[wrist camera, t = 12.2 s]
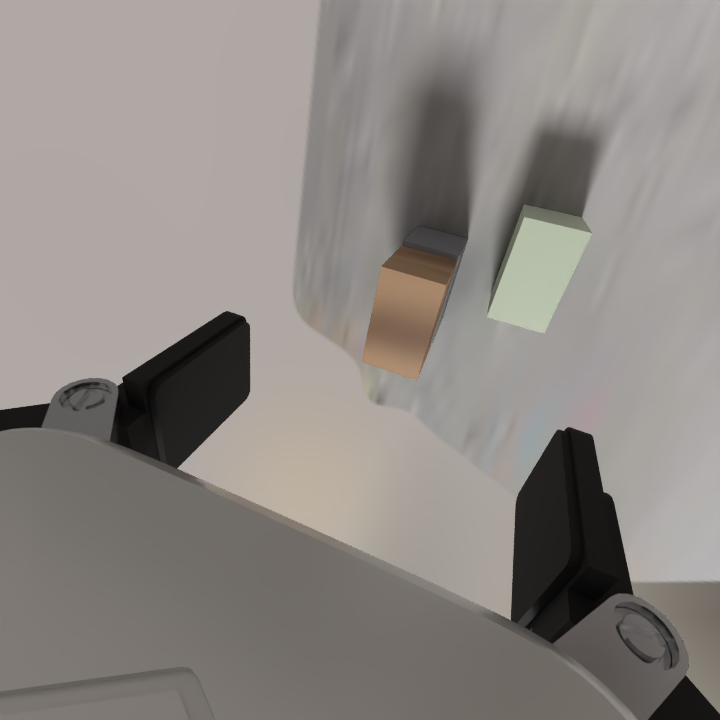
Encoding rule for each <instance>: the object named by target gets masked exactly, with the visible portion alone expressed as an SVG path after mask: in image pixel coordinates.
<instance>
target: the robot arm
mask: <svg viewBox="0 0 720 720" xmlns="http://www.w3.org/2000/svg"><path fill="white" fill-rule="evenodd" d="M122 379H123V383H121V384H120V385H118V386H116V384H115V383H113V382H111V381H109V380H106V379H101V378H89V379H83V380H79V381H76V382H72V383H70V384H68V385H66V386H64V387H62V388H61V389H60V390H58V391H57V392H56V393H55V395H54V397H53V398H52V400H51V403H48V404H41V405H33V406H26V407H19V408H12V409H5V410H0V720H720V714H719V713H718V712H717V711H716V709H715V708H714V707H713V706H712V705H711V704H710V703H709V701H708V700H707V699H706V698H705V697H704V696H703V695H702V693H701V692H700V691H699V690H698V689H697V688H696V687H695V685H694V684H693V683H692V682H691V681H690V680H689V679H688V677H687V676H686V672H687V670H688V668H689V659H688V653H687V650H686V647H685V644H684V641H683V640H682V638H681V637H680V635H679V633H678V631H677V630H676V628H675V627H674V626H673V625H672V623H671V622H670V621H669V620H668V619H667V618H666V616H665V615H664V614H662V613H661V612H660V611H659V610H658V609H656V608H655V607H654V606H653V605H651V604H650V603H648V602H646V601H645V600H643V599H641V598H639V597H636V596H634V595H633V591H632V586H631V581H630V577H629V572H628V567H627V562H626V558H625V553H624V548H623V543H622V539H621V534H620V529H619V524H618V520H617V515H616V510H615V505H614V502H613V499H612V497H611V496H610V495H609V494H607V493H604V492H603V487H602V482H601V477H600V471H599V466H598V461H597V456H596V450H595V445H594V440H593V436H592V435H591V434H588V433H585V432H582V431H579V430H576V429H573V428H570V427H568V428H566V429H565V431H562V430H557V431H556V433H555V434H554V436H553V437H552V439H551V441H550V442H549V444H548V446H547V447H546V449H545V451H544V452H543V454H542V456H541V457H540V459H539V461H538V462H537V464H536V465H535V467H534V469H533V470H532V472H531V474H530V475H529V477H528V479H527V480H526V482H525V484H524V485H523V487H522V489H521V490H520V492H519V494H518V497H517V500H516V510H515V535H514V558H513V583H512V606H511V607H512V608H511V620H509V619H507V618H505V617H503V616H501V615H499V614H497V613H495V612H493V611H491V610H489V609H487V608H485V607H482V606H480V605H478V604H476V603H474V602H472V601H470V600H468V599H466V598H463V597H461V596H459V595H457V594H455V593H453V592H451V591H448V590H446V589H444V588H442V587H440V586H438V585H436V584H434V583H431V582H429V581H427V580H425V579H422V578H420V577H418V576H416V575H414V574H411V573H409V572H407V571H405V570H403V569H401V568H398V567H396V566H394V565H392V564H390V563H387V562H385V561H383V560H381V559H378V558H376V557H374V556H372V555H370V554H367V553H365V552H363V551H361V550H359V549H356V548H354V547H352V546H350V545H348V544H345V543H343V542H341V541H339V540H336V539H334V538H332V537H330V536H327V535H325V534H323V533H321V532H318V531H316V530H314V529H312V528H310V527H307V526H305V525H303V524H301V523H298V522H296V521H294V520H292V519H289V518H287V517H285V516H283V515H281V514H278V513H276V512H274V511H272V510H269V509H267V508H265V507H262V506H260V505H258V504H256V503H253V502H251V501H249V500H246V499H245V498H242V497H240V496H238V495H235V494H233V493H231V492H229V491H226V490H224V489H222V488H220V487H217V486H215V485H213V484H210V483H208V482H206V481H204V480H201V479H199V478H197V477H195V476H192V475H190V474H188V473H185V472H183V471H181V470H179V469H177V468H178V467H179V466H180V465H181V464H182V463H183V462H184V461H185V460H186V459H187V458H188V457H189V456H190V455H191V454H192V453H193V452H194V451H195V450H196V449H197V448H198V447H199V446H200V445H201V444H202V443H203V442H204V441H205V440H206V439H207V438H208V437H209V436H210V435H211V434H212V433H213V432H214V431H215V430H216V429H217V428H218V427H219V426H220V425H221V424H222V423H223V422H224V421H225V420H226V419H227V418H228V417H229V416H230V415H231V414H232V413H233V412H234V411H235V410H236V409H237V408H238V407H239V406H240V405H241V404H242V403H243V402H244V401H245V400H246V399H247V397H248V395H249V392H250V325H249V324H248V323H247V322H246V319H245V317H243V316H240V315H237V314H235V313H231V312H228V311H226V312H223V313H222V314H220V315H219V316H217V317H216V318H214V319H213V320H211V321H209V322H208V323H206V324H205V325H203V326H202V327H200V328H198V329H197V330H195V331H194V332H192V333H191V334H189V335H188V336H186V337H184V338H183V339H181V340H180V341H178V342H177V343H175V344H174V345H172V346H171V347H169V348H167V349H166V350H164V351H163V352H161V353H160V354H158V355H157V356H155V357H153V358H152V359H150V360H149V361H147V362H146V363H144V364H143V365H141V366H139V367H138V368H136V369H135V370H133V371H132V372H130V373H128V374H127V375H125V376H124V377H123V378H122Z"/></svg>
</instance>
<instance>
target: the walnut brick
mask: <svg viewBox="0 0 720 720" xmlns="http://www.w3.org/2000/svg"><path fill="white" fill-rule="evenodd" d="M456 264H457V261H456V260H453V259H449V258H445V257H442V256H438V255H435V254H431V253H427V252H424V251H420V250H416V249H413V248H409V247H406V246H401V247H400V248H399V249H398V250H397V251H396V252H395V253H394V254H393V255H392V256H391V257H390V258H389V259H388V260H387V261H386V262H385V263H384V264H383V265H382V266H381V271H380V276H379V281H378V285H377V290H376V295H375V300H374V305H373V310H372V314H371V319H370V324H369V329H368V334H367V339H366V343H365V348H364V353H363V358H362V362H364V363H366V364H369V365H372V366H375V367H378V368H381V369H384V370H387V371H390V372H393V373H396V374H399V375H402V376H405V377H408V378H411V379H413V380H416V381H417V379H418V376H419V374H420V371H421V369H422V367H423V364H424V362H425V359H426V357H427V354H428V352H429V349H430V347H431V343H432V340H433V337H434V334H435V331H436V328H437V324H438V321H439V318H440V315H441V312H442V309H443V305H444V302H445V299H446V296H447V293H448V290H449V286H450V283H451V280H452V277H453V274H454V271H455V267H456Z"/></svg>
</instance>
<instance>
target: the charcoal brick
mask: <svg viewBox="0 0 720 720" xmlns="http://www.w3.org/2000/svg"><path fill="white" fill-rule="evenodd" d="M467 240H468V238H464V237H460V236H456V235H453V234H449V233H445V232H441V231H437V230H434V229H430V228H426V227H422V226H418V227H417V228H416V229H415V230H414V231H413V232H412V233H411V234H410V235H409V236H408V237H407V238H406V239H405V240H404V242H403V246H406V247H409V248H413V249H416V250H420V251H424V252H427V253H431V254H435V255H438V256H442V257H445V258H449V259H453V260H456V261H457V264H456V267H455V271H454V274H453V277H452V280H451V283H450V286H449V290H448V293H447V296H446V299H445V302H444V305H443V309H442V312H441V315H440V318H439V321H438V324H437V328H436V331H435V334H434V337H433V340H432V343H433V341H434V338H435V336H436V333H437V331H438V328H439V326H440V323H441V321H442V318H443V315H444V312H445V309H446V306H447V303H448V300H449V297H450V294H451V290H452V287H453V284H454V281H455V278H456V275H457V272H458V269H459V265H460V262H461V259H462V256H463V253H464V250H465V247H466V244H467Z"/></svg>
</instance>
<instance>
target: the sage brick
mask: <svg viewBox="0 0 720 720" xmlns="http://www.w3.org/2000/svg"><path fill="white" fill-rule="evenodd" d="M591 234H592V232H591V231H590V229H589V227H588V226H587V224H586V223H585V221H584V220H583V218H582V217H578V216H574V215H570V214H565V213H561V212H557V211H552V210H548V209H544V208H539V207H535V206H531V205H526V204H524V205H523V208H522V211H521V214H520V216H519V219H518V222H517V224H516V227H515V230H514V232H513V235H512V238H511V241H510V243H509V246H508V249H507V251H506V254H505V257H504V259H503V262H502V265H501V268H500V270H499V273H498V276H497V278H496V281H495V284H494V287H493V289H492V292H491V296H490V302H489V307H488V313H487V317H488V318H492V319H495V320H499V321H502V322H506V323H509V324H512V325H516V326H519V327H523V328H526V329H530V330H533V331H537V332H540V333H545V331H546V328H547V326H548V324H549V322H550V320H551V318H552V316H553V314H554V312H555V310H556V308H557V305H558V303H559V301H560V299H561V297H562V295H563V293H564V291H565V289H566V287H567V285H568V282H569V280H570V278H571V276H572V274H573V272H574V270H575V268H576V266H577V264H578V262H579V260H580V257H581V255H582V253H583V251H584V249H585V247H586V245H587V243H588V241H589V239H590V237H591Z"/></svg>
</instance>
